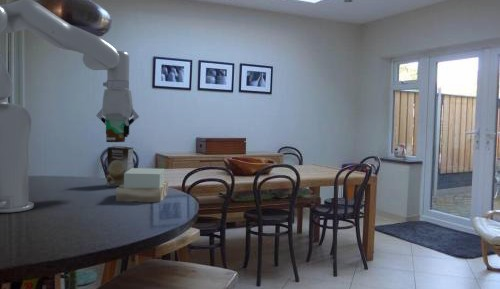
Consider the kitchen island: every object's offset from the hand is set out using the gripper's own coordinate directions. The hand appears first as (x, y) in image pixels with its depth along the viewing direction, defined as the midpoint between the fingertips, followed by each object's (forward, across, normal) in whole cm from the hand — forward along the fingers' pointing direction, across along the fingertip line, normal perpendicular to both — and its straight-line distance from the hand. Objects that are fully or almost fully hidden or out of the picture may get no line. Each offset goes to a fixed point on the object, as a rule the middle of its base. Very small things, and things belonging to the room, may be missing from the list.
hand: (117, 136), depth 159 cm
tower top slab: (+17, +10, -2) cm, 20 cm away
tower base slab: (+22, +10, -2) cm, 24 cm away
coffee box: (+22, -4, +23) cm, 32 cm away
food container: (+2, 0, 0) cm, 2 cm away
